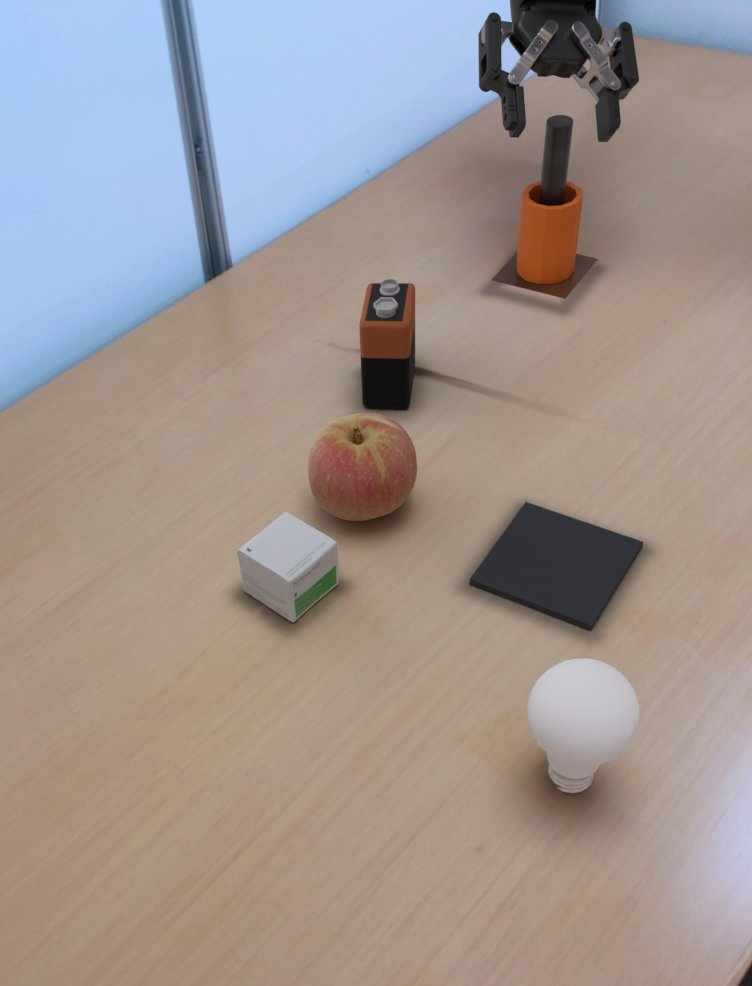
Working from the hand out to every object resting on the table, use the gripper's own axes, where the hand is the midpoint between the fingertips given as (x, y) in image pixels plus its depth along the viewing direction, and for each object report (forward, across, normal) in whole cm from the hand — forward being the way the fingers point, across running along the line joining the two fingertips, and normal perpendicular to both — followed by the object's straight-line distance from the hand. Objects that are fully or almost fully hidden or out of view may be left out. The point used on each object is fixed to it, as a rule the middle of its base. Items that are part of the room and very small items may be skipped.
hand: (563, 135), depth 98 cm
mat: (+40, -7, -7) cm, 41 cm away
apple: (+33, -20, +1) cm, 39 cm away
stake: (+7, +4, +14) cm, 16 cm away
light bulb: (+56, -12, -18) cm, 60 cm away
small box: (+41, -27, -2) cm, 49 cm away
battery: (+20, -15, +9) cm, 27 cm away
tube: (+6, +4, +14) cm, 15 cm away
